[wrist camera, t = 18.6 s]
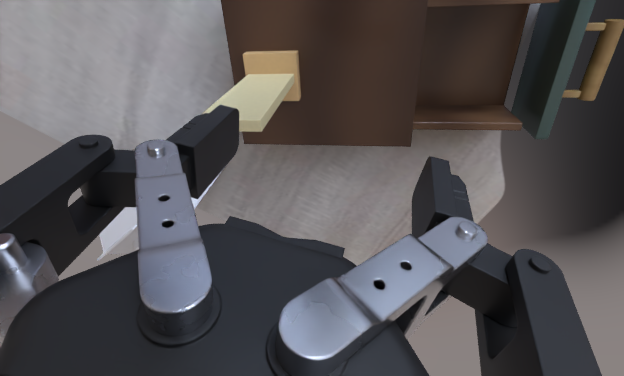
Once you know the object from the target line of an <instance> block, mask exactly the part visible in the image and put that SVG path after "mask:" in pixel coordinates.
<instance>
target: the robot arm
mask: <svg viewBox="0 0 624 376" xmlns="http://www.w3.org/2000/svg"><path fill="white" fill-rule="evenodd" d="M238 145H239V110H238V109H237V108H233V107H228V106H224V105H219V106H217V107H216V108H215V109H214V110H213V111H211V112H210V113H204V114H201V115H198V116H196V117H194V118H193V119H192V120H191V121H189V122H188V123H187V124H185V125H184V126H183V128H180V129H179V130H178V131H177V132H175V133H174V134H173V135H172V136H170V137H169V138H168V139H167V140H159V139H158V140H149V141H145V142H143V143H141V144H139V145H138V146H137V147H136V148H135V151H131V150H114V148H113V144H112V141H111V139H109V138H108V137H106V136H102V135H85V136H80V137H77V138H75V139H72V140H71V141H69V142H67V143H66V144H64V145H63V146H61V147H60V148H58V149H57V150H55V151H53V152H52V153H51V154H49V155H47V156H46V157H44V158H42V159H41V160H39V161H38V162H36V163H35V164H33V165H31V166H30V167H28V168H27V169H25V170H24V171H22V172H21V173H19V174H17V175H16V176H14V177H13V178H11V179H10V180H8V181H6V182H5V183H3V184H2V185H0V376H429V374H428V373H427V371H426V369H425V368H424V366H423V365H422V363H421V361H420V360H419V358H418V357H417V355H416V353H415V352H414V350H413V349H412V347H411V345H410V344H409V342H408V339H409V338H410V337H411V335H412V334H413V333H414V332H415V330H416V329H417V328H418V327H419V326H420V325H421V324H422V323H423V322H424V321H425V320H426V319H427V318H428V317H429V316H431V315H432V314H433V313H434V312H435V311H436V310H437V309H438V308H439V307H441V306H442V305H443V304H444V303H445V302H446V301H447V300H448V299H449V298H451V296H453V297H454V298H456V299H458V300H460V301H462V302H463V303H465V304H467V305H469V306H470V307H472V308H474V309H475V316H476V326H477V336H478V345H479V356H480V366H481V375H482V376H602V375H601V372H600V369H599V367H598V364H597V362H596V359H595V356H594V354H593V351H592V349H591V346H590V343H589V341H588V338H587V335H586V333H585V330H584V328H583V325H582V322H581V320H580V317H579V315H578V312H577V309H576V307H575V304H574V302H573V299H572V296H571V294H570V291H569V289H568V286H567V283H566V281H565V278H564V275H563V273H562V271H561V270H560V268H559V267H558V266H557V265H556V264H555V263H554V262H553V261H552V260H551V259H549V258H548V257H546V256H545V255H543V254H541V253H539V252H536V251H533V250H529V249H521V250H518V251H517V252H516V253H515V254H514V255H513V256H511V255H509V254H507V253H505V252H503V251H501V250H498V249H496V248H495V247H493V246H491V245H490V244H488V243H487V242H488V237H487V234H486V233H485V231H484V230H483V229H482V228H481V227H480V226H479V225H478V224H476V223H474V221H473V217H472V212H471V208H470V203H469V202H468V201H469V199H468V195H467V190H466V185H465V184H464V182H463V181H462V180H461V179H460V177H459V176H456V175H452V174H451V172H450V166H449V161H447V160H443V159H439V158H435V157H431V156H429V157H428V159H427V161H426V163H425V165H424V168H423V170H422V173H421V175H420V177H419V180H418V182H417V185H416V187H415V190H414V193H413V197H412V234H409V235H407V236H405V237H403V238H402V239H400V240H398V241H397V242H395V243H394V244H392V245H390V246H389V247H387V248H386V249H384V250H382V251H381V252H379V253H378V254H376V255H374V256H373V257H371V258H369V259H368V260H366V261H365V262H363V263H361V264H360V265H358V266H356V265H355V264H354V263H352V262H351V261H349V260H348V259H346V258H344V257H343V254H344V249H345V248H342V247H339V246H335V245H332V244H328V243H324V242H321V241H317V240H309V239H297V238H286V237H282V236H280V235H278V234H276V233H274V232H272V231H271V230H269V229H267V228H265V227H263V226H261V225H259V224H257V223H253V222H249V221H246V220H242V219H239V218H235V217H231V216H230V217H229V218H228V220H227V221H226V223H225V224H208V225H203V226H198V224H197V219H196V215H195V211H194V207H193V203H192V199H191V197H192V198H195V199H198V198H199V197H200V196H201V195H202V194H203V192H204V191H205V190H206V189H207V188H208V186H209V185H210V184H211V183H212V182H213V181H214V179H215V178H216V177H217V176H218V175H219V173H220V172H221V171H222V170H223V169H224V167H225V166H226V165H227V164H228V163H229V161H230V160H231V159H232V158H233V157H234V155H235V154H236V152H237V149H238ZM78 188H80V189H81V192H82V194H83V195H82V196H81V197H80V198H79V199H77V200H76V201H75V202H74V203H73V204H71V205H70V206H69V207H68V200H69V198H70V196H71V195H72V193H73V192H75V191H76V190H77V189H78ZM125 207H136V211H137V227H138V243H139V250H136V251H134V252H131V253H129V254H126V255H124V256H121V257H119V258H116V259H114V260H111V261H108V262H106V263H104V264H101V265H98V266H96V267H93V268H91V269H88V270H86V271H83V272H81V273H78V274H76V275H73V276H71V277H68V278H66V279H63V280H61V281H59V282H58V280H59V279H58V276H59V275H60V274H61V273H62V272H63V271H64V270H65V269H66V268H67V267H68V266H69V265H70V264H71V263H72V262H73V261H74V260H75V259H76V257H78V256H79V255H80V254H81V252H83V251H84V249H85V248H86V247H87V246H88V245H89V244H90V243H91V242H92V241H93V240H94V239H95V238H96V237H97V236H98V235H99V234H100V233H101V232H102V231H103V230H104V229H105V228H106V227H107V226H108V225H109V224H110V223H111V222H112V221H113V220H114V219H115V218H116V217H117V216H118V214H119V213H120V212H121V211H122V210H123V209H124V208H125Z"/></svg>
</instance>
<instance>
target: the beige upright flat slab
mask: <svg viewBox="0 0 624 376" xmlns="http://www.w3.org/2000/svg"><path fill="white" fill-rule="evenodd" d="M243 61H244V68H245V75H246V77H245V78H243V79H242V80H241V81H240V82H239V83H237V84H236V85H235V86H234V87H233V88H232V89H230V90H229V91H228V92H227V93H226V94H224V95H223V96H222V97H221V98H220V99H219V100H217V101H216V102H215V103H214V104H213V105H211V106H210V107H209V108H208V109H207V110H206V111H204V112H203V113H202V114H204V113H210V112H211V111H213V110H214V109H215V108H216V107H217V106H219V105H224V106H228V107H233V108H237V109H238V110H239V131H241V132H262V130H263V129H264V127H265V126H266V124H267V123H268V121H269V120H270V118H271V117H272V115H273V114H274V112H275V111H276V109H277V108H278V106H279V105H280V103H281V102H282V101H299V100H300V98H301V89H300V73H299V56H298V51H251V52H245V53H244V54H243Z"/></svg>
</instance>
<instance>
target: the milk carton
mask: <svg viewBox="0 0 624 376" xmlns="http://www.w3.org/2000/svg"><path fill="white" fill-rule="evenodd" d="M225 167H226V166H225ZM225 167H224V168H225ZM222 171H223V170H222ZM222 171H221V172H222ZM221 172H220V173H221ZM220 173H219V175H220ZM219 175H218V176H219ZM218 176H217V177H218ZM217 177H216V178H215V179H214V181H213V182H212V183H211V184H210V185H209V186H208V188H207V189H206V190H205V191H204V192H203V194H202V195H201V196H200V197H199V198H198V199H195V198H192V197H191V199H192V203H193V207H194V208H195V207H196V206H197V205H198V203H199V202H200V201H201V199H202V198H203V197H204V195H205V194H206V192H207V191H208V190H209V188H210V187H211V186H212V184H213V183H214V182H215V180H216V179H217ZM99 236H100V240H101V244H102V249H103V254H102V255H101V256H100V257H99V258H98V259H97V260H100V259H101V258H102V257H103V256H105V255H106V254H129V253H131V252H134V251H136V250H139V243H138V227H137V211H136V207H125V208H124V209H123V210H122V211H121V212H120V213H119V214H118V216H117V217H116V218H115V219H114V220H113V221H112V222H111V223H110V224H109V225H108V226H107V227H106V228H105V229H104V230H103V231H102V232H101V233H100V234H99Z"/></svg>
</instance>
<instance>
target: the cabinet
mask: <svg viewBox="0 0 624 376" xmlns="http://www.w3.org/2000/svg"><path fill="white" fill-rule="evenodd" d="M221 4H222V10H223V16H224V22H225V29H226V35H227V41H228V47H229V53H230V60H231V66H232V72H233V78H234V84H235V85H236V84H237V83H239V82H240V81H241V80H242V79H243V78H245V77H246V75H245V68H244V61H243V54H244V53H245V52H251V51H298V56H299V73H300V89H301V98H300V100H299V101H282V102H281V103H280V105H279V106H278V108H277V109H276V111H275V112H274V114H273V115H272V117H271V118H270V120H269V121H268V123H267V124H266V126H265V127H264V129H263V130H262V132H242V134H243V140H244V144H285V145H346V146H406V147H410V146H411V139H412V131H413V122H414V114H415V106H416V97H417V89H418V81H419V72H420V64H421V55H422V47H423V39H424V30H425V22H426V14H427V5H428V0H221Z"/></svg>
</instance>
